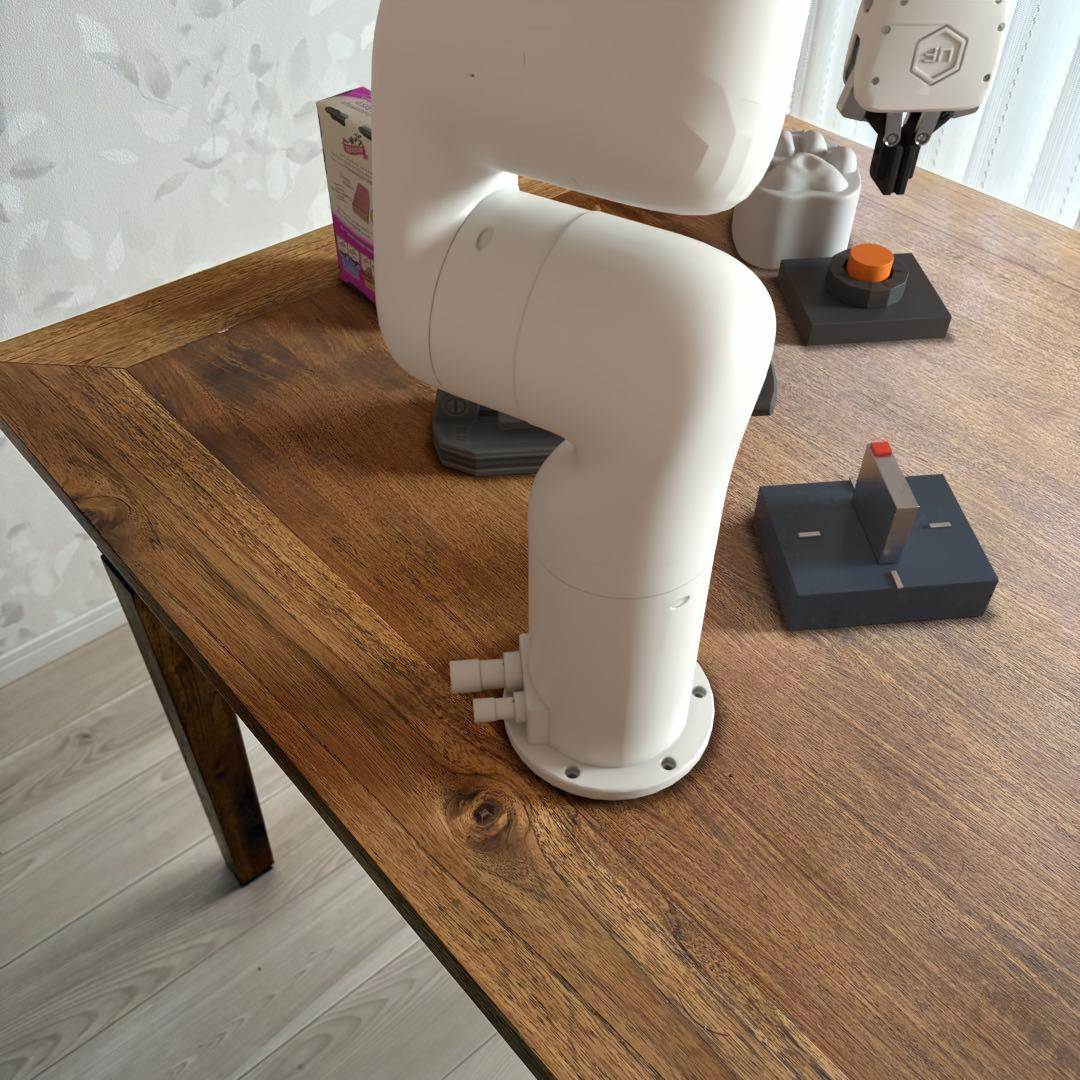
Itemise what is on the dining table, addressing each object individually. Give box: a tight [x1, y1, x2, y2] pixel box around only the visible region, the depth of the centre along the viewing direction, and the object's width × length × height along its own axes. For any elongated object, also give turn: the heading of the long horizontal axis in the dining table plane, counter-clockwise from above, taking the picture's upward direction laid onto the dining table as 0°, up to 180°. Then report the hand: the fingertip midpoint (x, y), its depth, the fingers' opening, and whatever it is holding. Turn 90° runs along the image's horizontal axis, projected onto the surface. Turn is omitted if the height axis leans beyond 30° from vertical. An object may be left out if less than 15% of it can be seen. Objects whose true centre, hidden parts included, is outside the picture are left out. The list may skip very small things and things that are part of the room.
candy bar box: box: [315, 86, 376, 305], centre depth 92 cm, size 11×5×16 cm, turn 41°
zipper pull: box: [431, 359, 778, 477], centre depth 82 cm, size 9×7×25 cm
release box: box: [776, 248, 953, 347], centre depth 95 cm, size 12×10×4 cm
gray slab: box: [852, 441, 919, 564], centre depth 71 cm, size 6×1×5 cm, turn 6°
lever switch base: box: [751, 473, 1000, 632], centre depth 74 cm, size 13×10×4 cm
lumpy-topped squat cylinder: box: [731, 128, 862, 270], centre depth 102 cm, size 10×13×9 cm
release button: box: [846, 242, 894, 283], centre depth 94 cm, size 4×4×2 cm
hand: (887, 186), depth 88 cm, fingers closed
